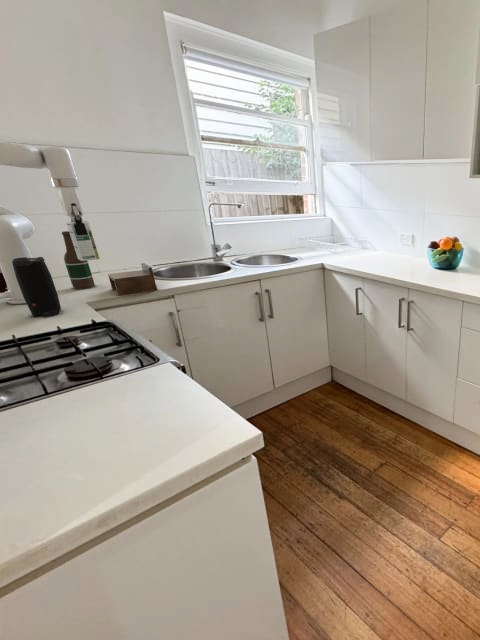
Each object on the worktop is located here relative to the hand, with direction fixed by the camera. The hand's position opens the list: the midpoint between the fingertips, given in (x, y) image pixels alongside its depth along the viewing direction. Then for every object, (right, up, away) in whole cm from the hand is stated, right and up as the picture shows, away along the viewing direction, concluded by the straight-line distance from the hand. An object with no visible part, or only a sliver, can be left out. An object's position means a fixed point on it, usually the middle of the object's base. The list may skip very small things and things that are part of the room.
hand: (80, 233), depth 148 cm
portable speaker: (0, -33, -13) cm, 35 cm away
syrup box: (0, -9, +4) cm, 10 cm away
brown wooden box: (+7, -19, +19) cm, 28 cm away
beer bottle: (-17, -18, +21) cm, 33 cm away
